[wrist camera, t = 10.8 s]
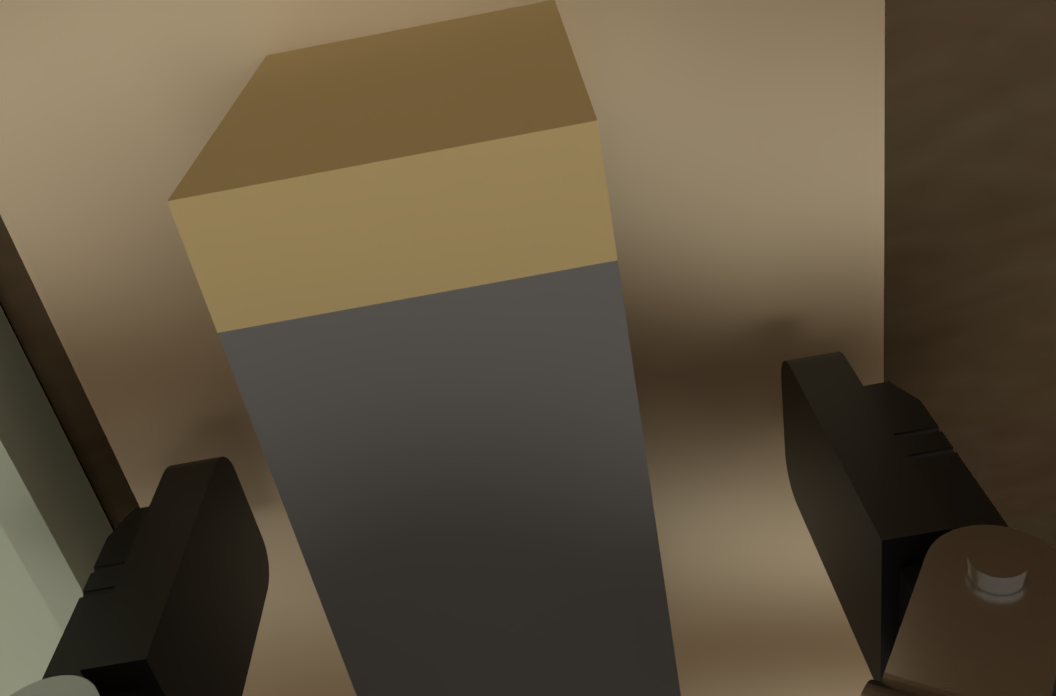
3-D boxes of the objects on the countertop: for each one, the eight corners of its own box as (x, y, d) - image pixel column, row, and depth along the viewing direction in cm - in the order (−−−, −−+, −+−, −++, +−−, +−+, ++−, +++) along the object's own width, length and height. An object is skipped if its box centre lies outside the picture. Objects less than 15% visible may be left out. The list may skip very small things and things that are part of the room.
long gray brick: (653, 628, 17) (709, 891, 13) (451, 661, 17) (447, 931, 13) (555, -1, 12) (597, 120, 8) (265, 55, 12) (167, 200, 8)
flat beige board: (871, 788, 20) (950, 989, 17) (331, 872, 21) (305, 1084, 17) (862, -922, 9) (1107, -1345, 5) (-367, -636, 9) (-842, -862, 6)
